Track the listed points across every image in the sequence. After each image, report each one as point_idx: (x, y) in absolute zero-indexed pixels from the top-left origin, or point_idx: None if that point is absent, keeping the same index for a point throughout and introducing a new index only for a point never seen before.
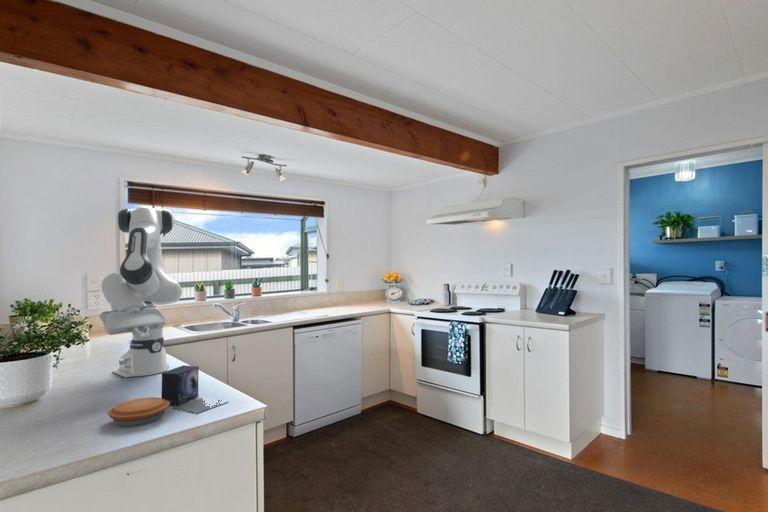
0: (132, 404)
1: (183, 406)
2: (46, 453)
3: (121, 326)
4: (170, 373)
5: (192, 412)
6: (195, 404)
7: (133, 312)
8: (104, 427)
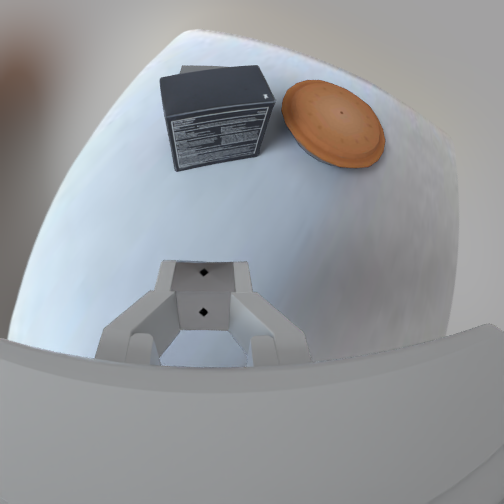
0: (353, 120)
1: None
2: (434, 155)
3: (461, 341)
4: (265, 80)
5: None
6: None
7: None
8: None
